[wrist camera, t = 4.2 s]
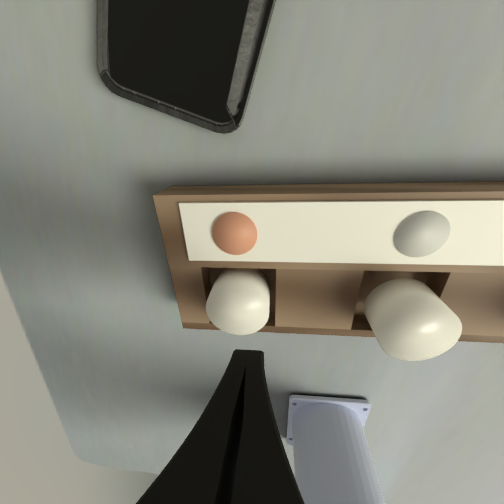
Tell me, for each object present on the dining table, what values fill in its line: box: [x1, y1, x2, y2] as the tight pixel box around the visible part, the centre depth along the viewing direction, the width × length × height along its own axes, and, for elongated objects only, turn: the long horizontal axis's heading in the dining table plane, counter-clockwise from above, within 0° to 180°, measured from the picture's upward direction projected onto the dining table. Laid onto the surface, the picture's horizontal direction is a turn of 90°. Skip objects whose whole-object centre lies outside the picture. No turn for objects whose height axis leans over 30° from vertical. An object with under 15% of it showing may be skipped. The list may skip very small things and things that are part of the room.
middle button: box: [363, 278, 462, 361], centre depth 13 cm, size 4×4×2 cm
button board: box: [153, 181, 504, 343], centre depth 15 cm, size 10×29×2 cm, turn 92°
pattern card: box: [179, 200, 504, 266], centre depth 12 cm, size 4×26×1 cm, turn 92°
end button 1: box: [206, 268, 270, 335], centre depth 15 cm, size 4×4×2 cm
